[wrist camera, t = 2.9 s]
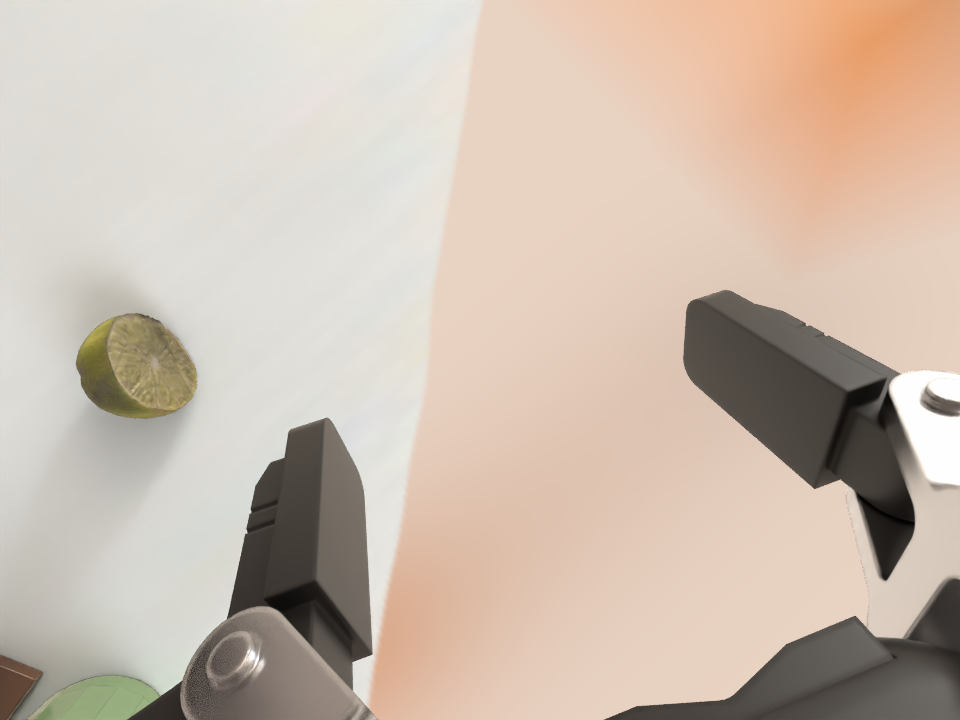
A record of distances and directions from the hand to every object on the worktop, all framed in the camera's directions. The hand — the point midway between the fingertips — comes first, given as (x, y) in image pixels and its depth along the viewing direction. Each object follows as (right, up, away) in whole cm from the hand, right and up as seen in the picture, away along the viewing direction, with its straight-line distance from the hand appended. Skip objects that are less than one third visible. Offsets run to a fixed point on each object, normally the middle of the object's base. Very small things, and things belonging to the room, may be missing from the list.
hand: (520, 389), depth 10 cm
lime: (-18, 0, +14) cm, 23 cm away
